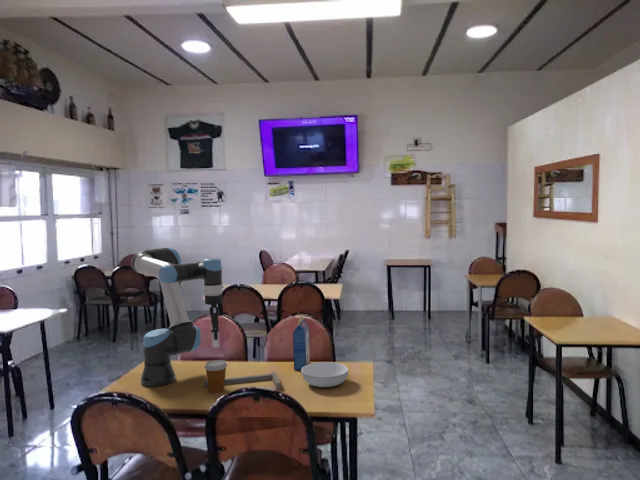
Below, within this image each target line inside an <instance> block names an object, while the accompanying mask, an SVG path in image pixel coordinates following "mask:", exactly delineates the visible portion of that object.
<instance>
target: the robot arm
mask: <svg viewBox="0 0 640 480" xmlns="http://www.w3.org/2000/svg"><path fill="white" fill-rule="evenodd" d="M181 262H182V261H181V256H180V253H179V252H178V251H177V250H176V249H175V248H173V247H163V248H150V249H147V248H146V249H142V250H139V251H137V252H136V253H135V254H133V256H132V258H131V260H130V264H131V268H132V270H133V271H134V272H136V273H137V274H141V275H146V274H147V275H151V276H153V277H155V278H156V279H158V280H159V283H160V287H161V292H162V295H163V299H164V304H165V308H166V310H167V315H168V319H169V322H170V325H169V327H168V328H158V329H154V330H153V329H152V330H151V331H149V332H147V333H145V335H144V336H143V340H142V341H143V343H142V347H143V362H144V367H143V371H142V374H141V377H140V384H141V385H142V386H143V387H153V388H154V387H162V386H166V385H169V384H171V383H173V382H175V381H176V372H175V370H174V367H173V365H172V362H171V361H172V360H171V359H172V358H171V357H173V356H177V355H181V354H186V353H191V352H193V351H194V352H195V351H196V350H198V349H199V347H200V345H201V342H202V341H201V340H202V334H201V330H200V328H199V327H198V326H197V325H194V323H193V321H192V320H190V319H189V316H188V314H187V313H188V312H187V309H186V305H185V301H184V297H183V293H182V291H181V290H182V289H181V287H180V283H181V282H187V281H188V282H189V281H196V280H203V283H204V284H203V287H204V288H203V289H204V290H203V292H204V304H205V305H210V307H209V313H210V322H211V323H210V324H211V325H210V326H211V330H210V333H211V340H212V348H220V329H219V324H220V323H219V316H220V315H219V313H220V307H219V306H218V305H221V304H222V303H223V302H224V301H223V300H224V297H223V289H224V285H223V276H222V275H223V274H222V273H223V270H222V269H223V267H222V260H221V258H213V257H212V258H205V259H204V260H203V262H202V261H193V262H188V263H181Z"/></svg>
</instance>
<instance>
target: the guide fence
mask: <svg viewBox="0 0 640 480" xmlns="http://www.w3.org/2000/svg"><path fill="white" fill-rule="evenodd" d="M269 380H270V381H272V383H273V385H274V388H275V390H276V391H281V390H282V385H281V383H282V382H281V380H280V378H279V377H278V373H277V371H271V373H266V374H258V375H257V374H256V375H255V374H254V375H244V376H237V377H229V378H228V377H227V378H226V377H225V384H224V385H233V384H241V383H252V382H260V381H269ZM204 387H209V385H208V379H206V380H204Z"/></svg>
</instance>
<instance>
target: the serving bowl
mask: <svg viewBox="0 0 640 480" xmlns="http://www.w3.org/2000/svg"><path fill="white" fill-rule="evenodd" d="M300 371H301V375H302V378H303V380H304V381H305V382H306V383H307V384H309V385H310V386H313V387H319V388H330V387H335V386H338V385H340V384H342V383H344V381H345V380H346V379H347V378H348V376H349V375H348V374H349V368H348V367H347V366H346V365H345V364H342V363H339V362H335V361H334V362H333V361H318V362H310V363H309V364H308V365H306V366H304V367H302V369H301V370H300Z"/></svg>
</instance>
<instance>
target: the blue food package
mask: <svg viewBox="0 0 640 480" xmlns="http://www.w3.org/2000/svg"><path fill="white" fill-rule="evenodd" d="M292 338H293V339H292V342H293V343H292V344H293V349H292V350H293V370H294V371H301V369H302V367H304V366H306V365H308V364H311V361H310V359H311V357H310V328H309V326H308V323H307V322H306V321H305V320H304V317H303V313H302V314H301V316H300V317H299V318H298V324H297V326H296V327H295V329H294V330H293V334H292Z"/></svg>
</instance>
